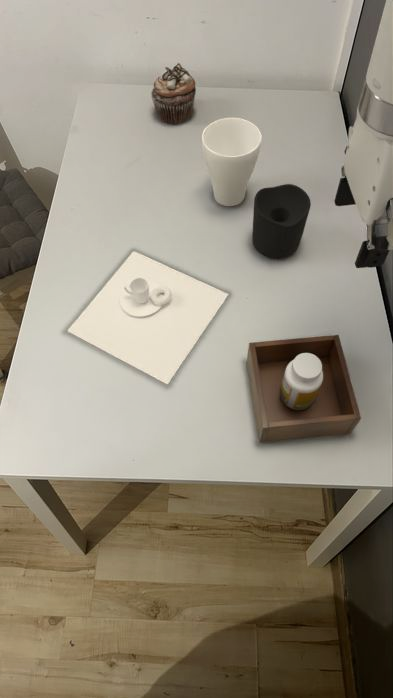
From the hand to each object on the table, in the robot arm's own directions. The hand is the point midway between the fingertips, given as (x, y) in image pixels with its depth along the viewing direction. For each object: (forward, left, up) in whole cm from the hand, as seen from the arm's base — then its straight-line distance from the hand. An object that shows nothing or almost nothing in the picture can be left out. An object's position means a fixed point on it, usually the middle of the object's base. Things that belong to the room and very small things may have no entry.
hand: (357, 232), depth 60 cm
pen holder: (+3, -22, -26) cm, 34 cm away
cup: (+10, -35, -26) cm, 44 cm away
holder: (+5, +9, -26) cm, 28 cm away
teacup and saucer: (+27, -9, -26) cm, 38 cm away
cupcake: (+19, -62, -26) cm, 69 cm away
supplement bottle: (+5, +9, -25) cm, 27 cm away
